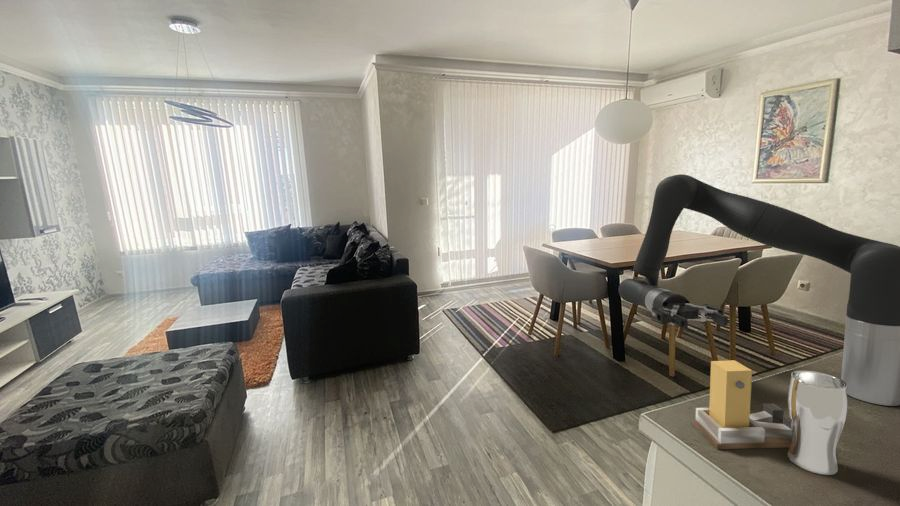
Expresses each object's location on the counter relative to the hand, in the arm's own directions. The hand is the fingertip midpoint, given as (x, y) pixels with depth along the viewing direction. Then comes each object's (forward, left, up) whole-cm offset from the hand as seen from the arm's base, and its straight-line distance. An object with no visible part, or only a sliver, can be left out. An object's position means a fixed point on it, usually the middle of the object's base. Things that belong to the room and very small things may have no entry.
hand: (705, 323), depth 83 cm
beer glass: (-5, +22, -18) cm, 28 cm away
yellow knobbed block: (+4, +14, -17) cm, 22 cm away
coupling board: (0, +14, -18) cm, 22 cm away
